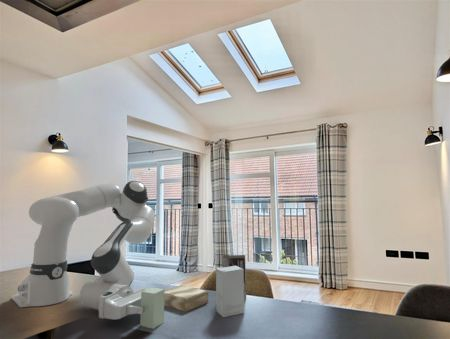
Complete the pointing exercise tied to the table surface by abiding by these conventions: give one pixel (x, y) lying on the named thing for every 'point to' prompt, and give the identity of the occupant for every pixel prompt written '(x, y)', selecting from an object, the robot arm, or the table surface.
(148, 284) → the table surface
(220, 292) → the skincare box
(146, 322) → the sage block
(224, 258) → the coffee box
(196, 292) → the oak box
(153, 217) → the robot arm
